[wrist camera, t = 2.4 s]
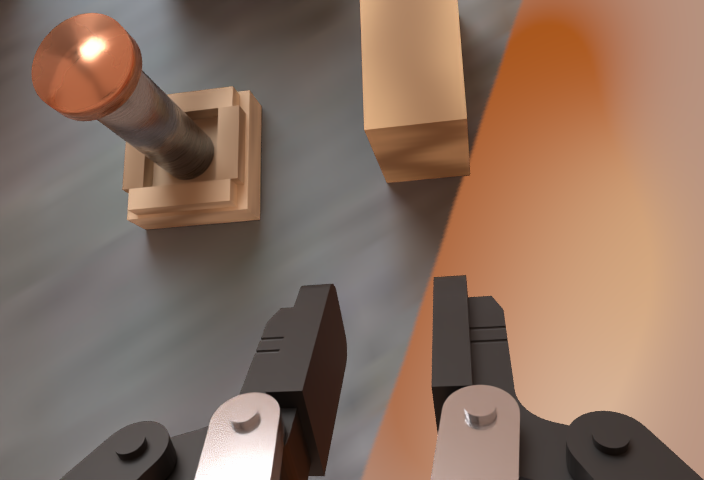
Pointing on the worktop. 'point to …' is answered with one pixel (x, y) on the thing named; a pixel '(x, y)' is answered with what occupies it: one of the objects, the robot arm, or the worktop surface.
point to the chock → (414, 88)
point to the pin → (117, 93)
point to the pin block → (217, 181)
